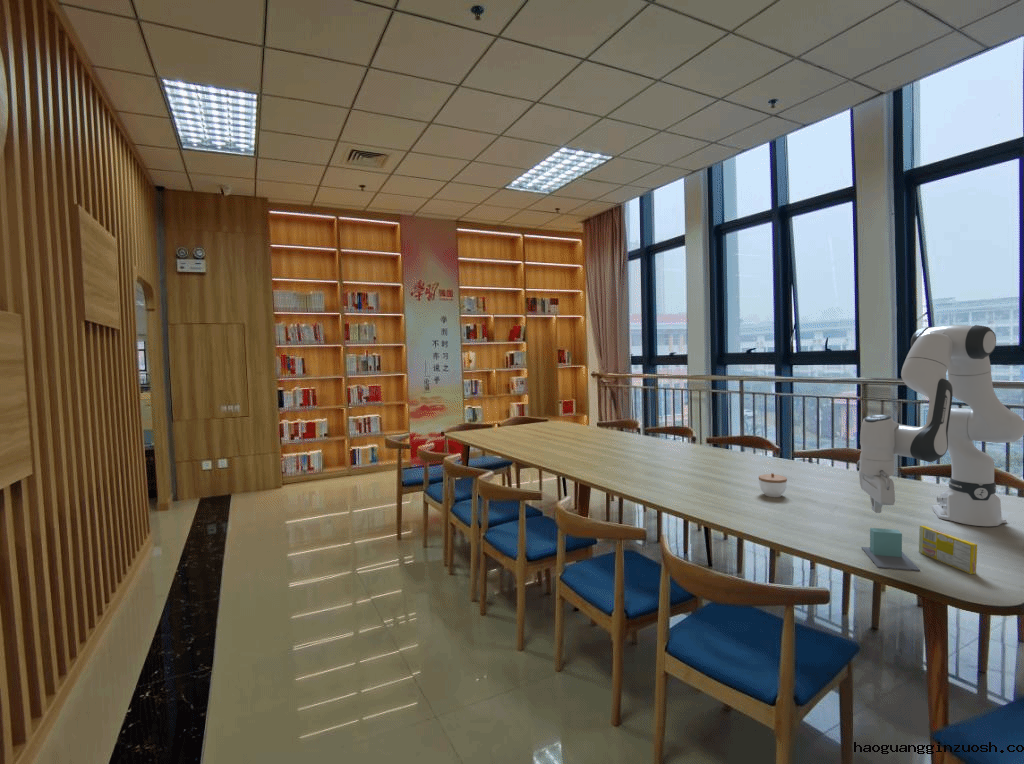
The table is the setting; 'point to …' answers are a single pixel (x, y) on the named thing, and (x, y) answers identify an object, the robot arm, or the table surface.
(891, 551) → the teal rectangular prism
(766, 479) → the lidded jar
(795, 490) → the table surface
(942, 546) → the candy box
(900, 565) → the felt mat
